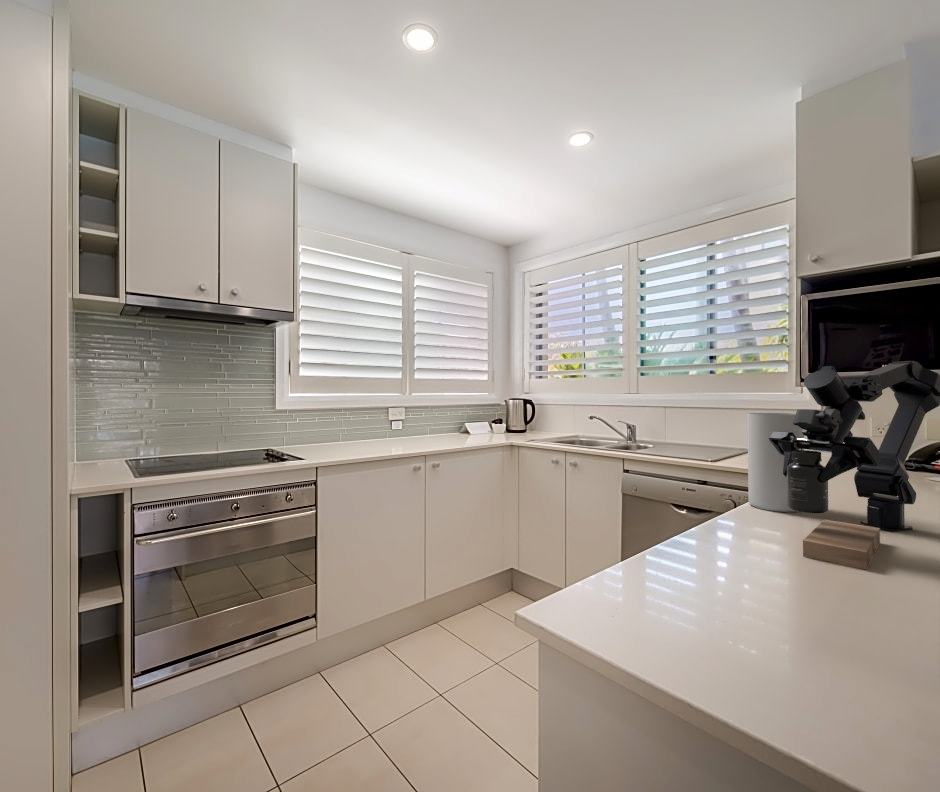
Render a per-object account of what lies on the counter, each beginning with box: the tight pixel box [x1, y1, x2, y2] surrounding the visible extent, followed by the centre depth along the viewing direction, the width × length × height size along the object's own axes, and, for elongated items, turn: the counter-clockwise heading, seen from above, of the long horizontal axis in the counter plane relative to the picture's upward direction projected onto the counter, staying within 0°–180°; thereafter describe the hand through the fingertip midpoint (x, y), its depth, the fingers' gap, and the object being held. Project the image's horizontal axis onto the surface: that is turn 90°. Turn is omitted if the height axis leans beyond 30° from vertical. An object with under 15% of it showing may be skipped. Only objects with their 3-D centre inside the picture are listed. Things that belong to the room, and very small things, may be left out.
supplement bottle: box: [787, 449, 829, 515], centre depth 93 cm, size 7×7×12 cm
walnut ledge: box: [802, 519, 881, 570], centre depth 88 cm, size 20×9×3 cm, turn 133°
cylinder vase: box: [747, 412, 805, 513], centre depth 122 cm, size 12×12×25 cm
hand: (802, 478), depth 92 cm, fingers closed on supplement bottle, 7 cm apart
